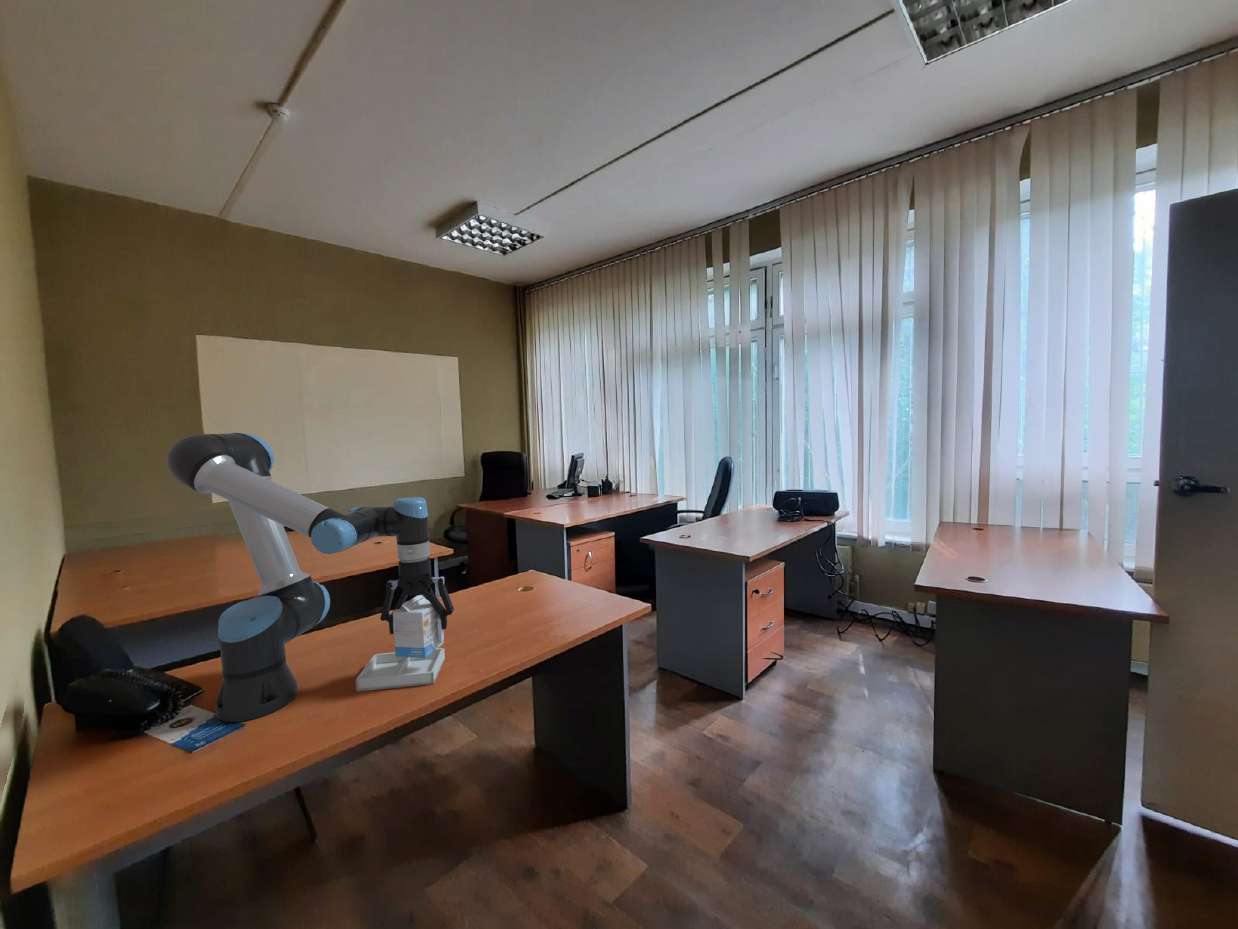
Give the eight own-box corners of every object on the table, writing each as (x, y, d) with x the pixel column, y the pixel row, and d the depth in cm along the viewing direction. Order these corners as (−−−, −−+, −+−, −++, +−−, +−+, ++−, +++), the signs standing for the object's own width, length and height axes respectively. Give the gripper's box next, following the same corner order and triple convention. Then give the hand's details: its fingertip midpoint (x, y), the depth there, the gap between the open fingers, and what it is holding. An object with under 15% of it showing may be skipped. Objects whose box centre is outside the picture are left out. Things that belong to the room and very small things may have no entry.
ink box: (424, 659, 117) (421, 606, 116) (394, 656, 118) (391, 604, 117) (444, 643, 125) (441, 594, 124) (415, 641, 127) (412, 592, 126)
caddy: (356, 691, 114) (355, 680, 114) (375, 665, 127) (374, 654, 127) (433, 684, 117) (433, 672, 116) (444, 658, 130) (444, 647, 129)
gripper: (361, 566, 115) (367, 654, 116) (457, 559, 118) (462, 645, 120) (372, 557, 122) (378, 641, 124) (462, 551, 125) (467, 633, 127)
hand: (419, 643), depth 122 cm, fingers closed on ink box, 10 cm apart
